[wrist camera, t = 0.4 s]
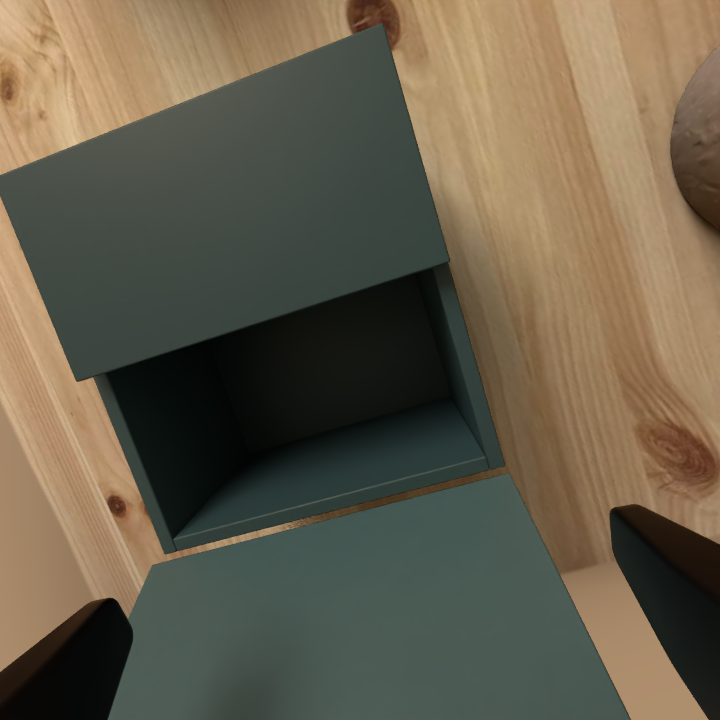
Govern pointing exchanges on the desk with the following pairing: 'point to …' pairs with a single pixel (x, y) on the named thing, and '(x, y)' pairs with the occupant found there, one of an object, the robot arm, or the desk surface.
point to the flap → (370, 622)
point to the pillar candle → (700, 140)
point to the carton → (262, 297)
